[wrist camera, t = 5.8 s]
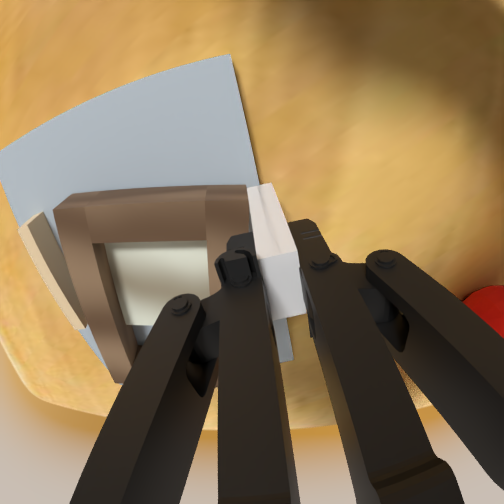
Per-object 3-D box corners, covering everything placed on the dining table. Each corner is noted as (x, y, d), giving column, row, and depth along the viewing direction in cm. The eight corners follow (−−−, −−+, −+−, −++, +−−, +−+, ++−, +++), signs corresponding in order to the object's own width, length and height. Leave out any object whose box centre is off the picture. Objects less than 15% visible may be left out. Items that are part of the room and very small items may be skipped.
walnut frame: (71, 193, 15) (52, 209, 12) (246, 184, 15) (249, 200, 13) (121, 360, 22) (115, 383, 19) (243, 362, 22) (245, 386, 20)
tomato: (406, 376, 30) (433, 435, 22) (412, 303, 23) (461, 377, 16) (491, 330, 28) (524, 376, 21) (511, 252, 22) (563, 302, 14)
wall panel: (2, 151, 14) (-45, 175, 9) (229, 56, 13) (231, 40, 9) (122, 375, 25) (113, 418, 20) (291, 349, 24) (302, 397, 20)
